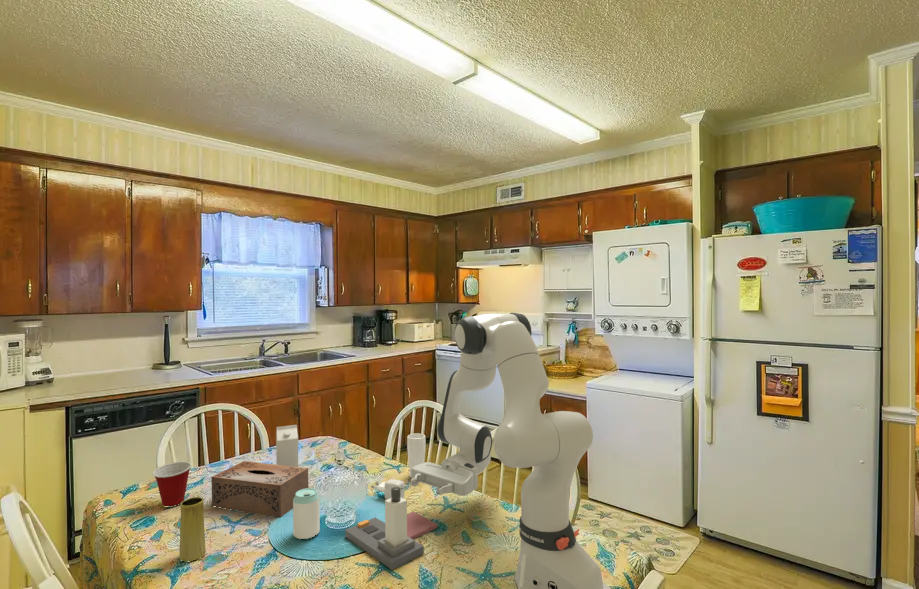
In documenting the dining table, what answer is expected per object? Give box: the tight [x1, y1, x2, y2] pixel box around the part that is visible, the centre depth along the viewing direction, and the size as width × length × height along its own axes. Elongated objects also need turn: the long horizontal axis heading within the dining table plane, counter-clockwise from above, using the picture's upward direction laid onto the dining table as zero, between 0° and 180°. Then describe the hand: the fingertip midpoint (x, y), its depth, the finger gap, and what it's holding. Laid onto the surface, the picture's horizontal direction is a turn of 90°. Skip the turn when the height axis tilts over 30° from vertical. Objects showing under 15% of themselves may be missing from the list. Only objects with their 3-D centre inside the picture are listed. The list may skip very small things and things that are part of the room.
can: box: [292, 487, 321, 540], centre depth 131 cm, size 7×7×12 cm
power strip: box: [344, 517, 425, 571], centre depth 125 cm, size 22×10×4 cm, turn 44°
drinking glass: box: [406, 432, 427, 478], centre depth 172 cm, size 7×7×15 cm
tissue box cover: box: [211, 460, 310, 518], centre depth 152 cm, size 26×14×10 cm, turn 74°
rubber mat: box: [407, 511, 438, 540], centre depth 134 cm, size 11×11×1 cm
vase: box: [178, 496, 207, 562], centre depth 121 cm, size 6×6×14 cm
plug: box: [384, 487, 408, 548], centre depth 121 cm, size 4×4×17 cm
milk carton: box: [275, 424, 299, 467], centre depth 172 cm, size 7×7×19 cm
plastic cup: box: [152, 461, 192, 506], centre depth 151 cm, size 11×11×12 cm
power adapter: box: [370, 478, 405, 500], centre depth 154 cm, size 11×5×6 cm, turn 67°
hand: (425, 487), depth 131 cm, fingers open, 8 cm apart
